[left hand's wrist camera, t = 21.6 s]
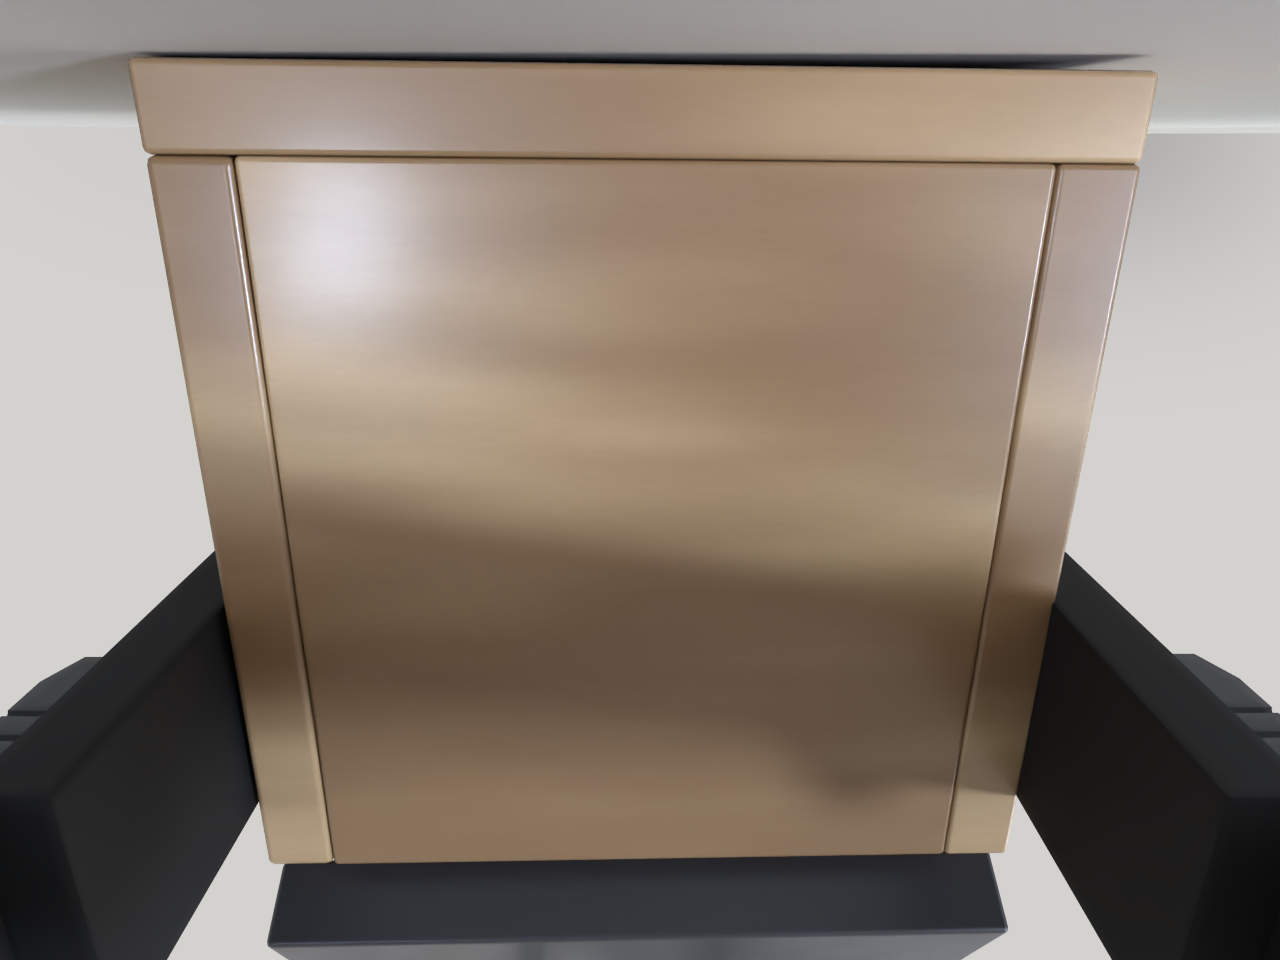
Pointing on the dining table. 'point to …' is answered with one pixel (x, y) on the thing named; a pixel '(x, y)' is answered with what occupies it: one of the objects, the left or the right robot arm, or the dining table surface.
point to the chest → (638, 439)
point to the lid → (642, 909)
